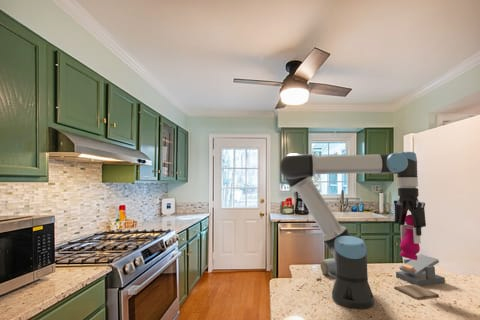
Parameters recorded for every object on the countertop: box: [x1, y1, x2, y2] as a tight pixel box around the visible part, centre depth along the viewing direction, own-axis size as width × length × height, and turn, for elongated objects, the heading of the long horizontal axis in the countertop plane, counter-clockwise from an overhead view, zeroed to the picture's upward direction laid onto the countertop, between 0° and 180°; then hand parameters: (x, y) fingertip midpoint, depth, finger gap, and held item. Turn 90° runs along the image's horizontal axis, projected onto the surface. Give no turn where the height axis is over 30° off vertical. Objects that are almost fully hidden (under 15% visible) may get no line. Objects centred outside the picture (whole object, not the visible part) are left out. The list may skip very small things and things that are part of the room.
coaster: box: [393, 284, 440, 300], centre depth 110 cm, size 11×11×1 cm
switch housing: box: [395, 258, 446, 287], centre depth 124 cm, size 15×13×8 cm
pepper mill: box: [399, 214, 421, 260], centre depth 114 cm, size 7×7×20 cm
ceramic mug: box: [320, 257, 336, 279], centre depth 132 cm, size 11×8×8 cm
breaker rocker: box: [398, 253, 440, 276], centre depth 124 cm, size 14×9×4 cm, turn 104°
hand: (410, 241), depth 113 cm, fingers closed on pepper mill, 6 cm apart
